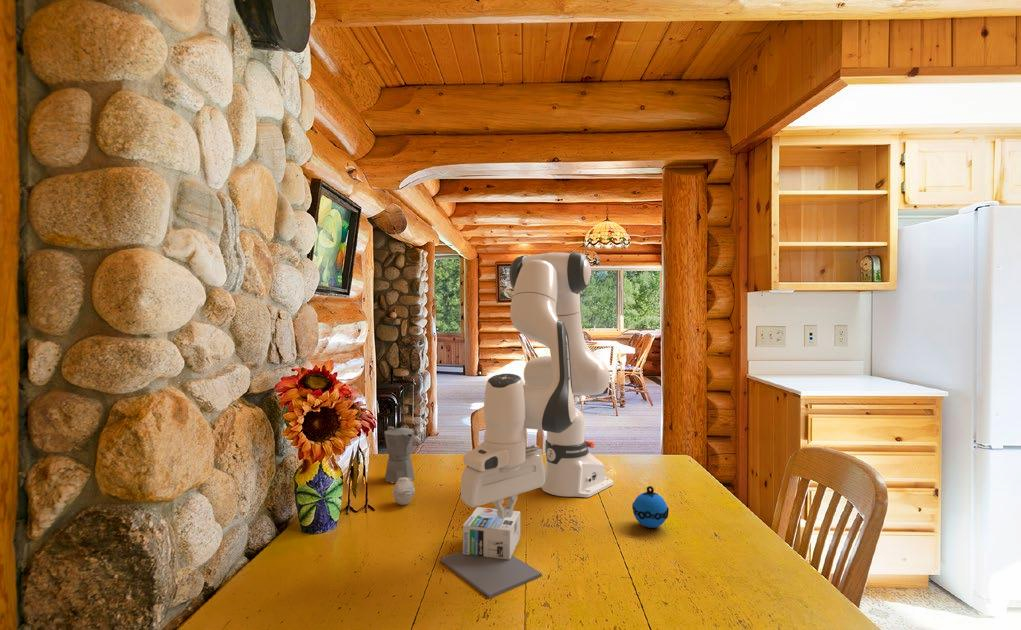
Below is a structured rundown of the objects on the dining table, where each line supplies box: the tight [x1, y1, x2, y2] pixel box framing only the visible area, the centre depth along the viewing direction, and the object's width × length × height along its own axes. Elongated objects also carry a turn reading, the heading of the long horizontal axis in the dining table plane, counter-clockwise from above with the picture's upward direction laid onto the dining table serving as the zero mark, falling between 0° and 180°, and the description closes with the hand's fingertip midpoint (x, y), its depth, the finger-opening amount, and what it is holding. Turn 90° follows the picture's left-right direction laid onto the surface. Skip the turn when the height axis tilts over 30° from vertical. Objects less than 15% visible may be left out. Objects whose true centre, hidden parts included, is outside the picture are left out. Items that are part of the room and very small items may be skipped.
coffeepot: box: [382, 421, 415, 483], centre depth 166 cm, size 15×9×18 cm, turn 44°
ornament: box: [631, 485, 670, 529], centre depth 130 cm, size 9×9×10 cm
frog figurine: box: [392, 477, 416, 506], centre depth 145 cm, size 6×7×7 cm
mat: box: [439, 550, 543, 599], centre depth 110 cm, size 13×18×1 cm
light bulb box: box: [461, 506, 521, 560], centre depth 119 cm, size 11×7×11 cm
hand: (505, 516), depth 113 cm, fingers closed
